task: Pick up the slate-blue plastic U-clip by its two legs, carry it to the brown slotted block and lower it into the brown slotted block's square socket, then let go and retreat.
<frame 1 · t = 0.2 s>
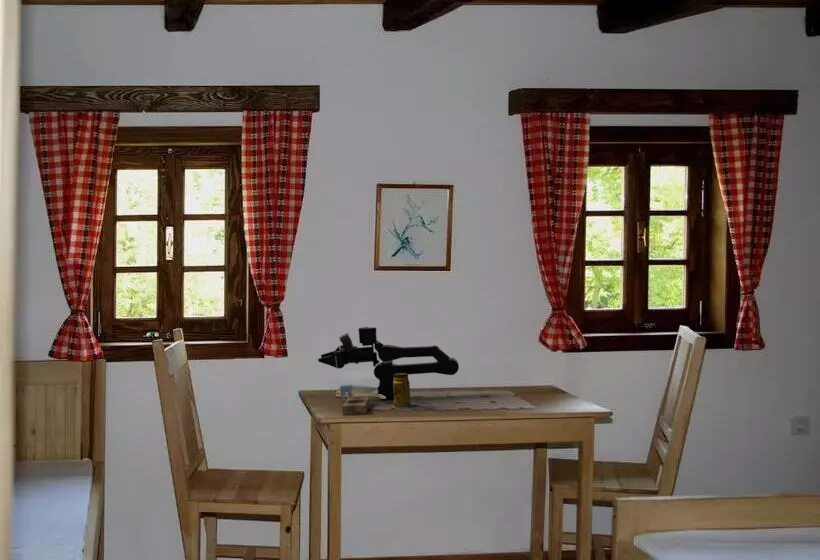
hand: (319, 358, 399), 16 cm above the table, tool horizontal, fingers open, 9 cm apart
condiment: (404, 406, 380), on the table
clip: (347, 403, 392), on the table
brown slotted block: (356, 409, 378), on the table
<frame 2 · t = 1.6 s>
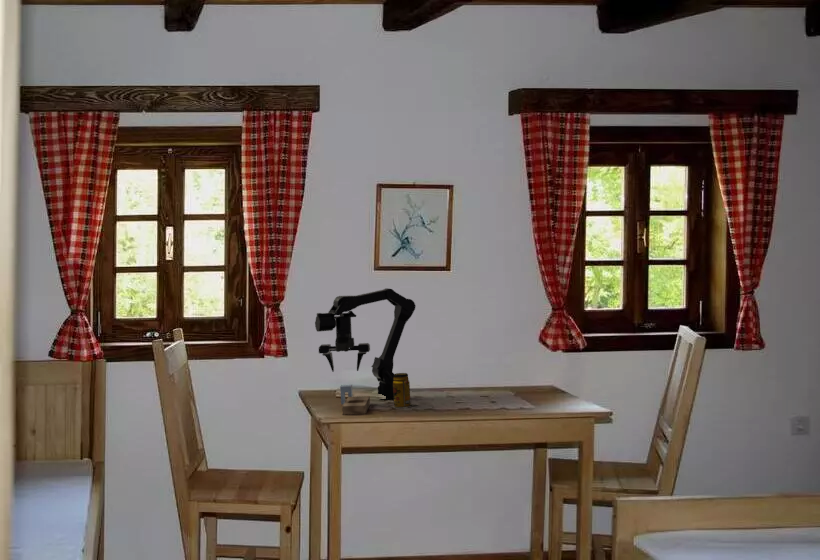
hand: (345, 371, 392), 12 cm above the table, tool pointing down, fingers open, 9 cm apart
nothing on the table moved.
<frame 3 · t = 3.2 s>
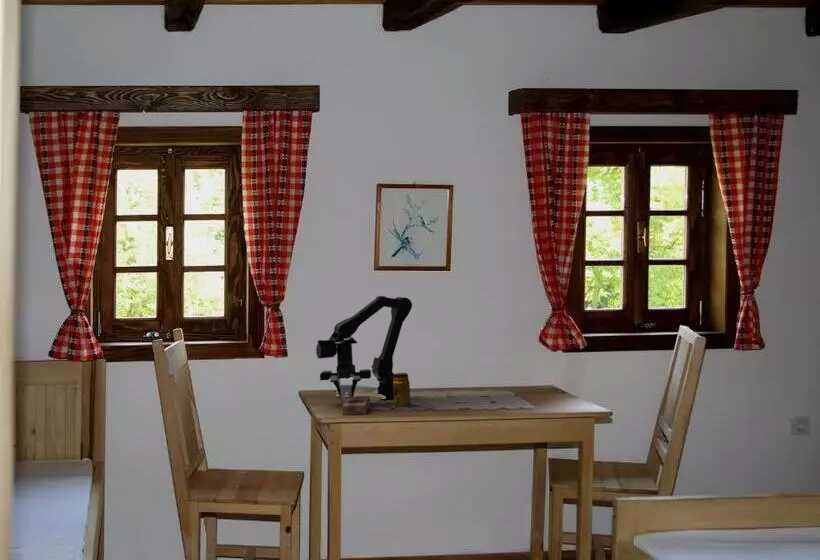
hand: (346, 397, 392), 2 cm above the table, tool pointing down, fingers closed on clip, 4 cm apart
clip: (347, 403, 392), on the table, touching gripper
everything else where it was.
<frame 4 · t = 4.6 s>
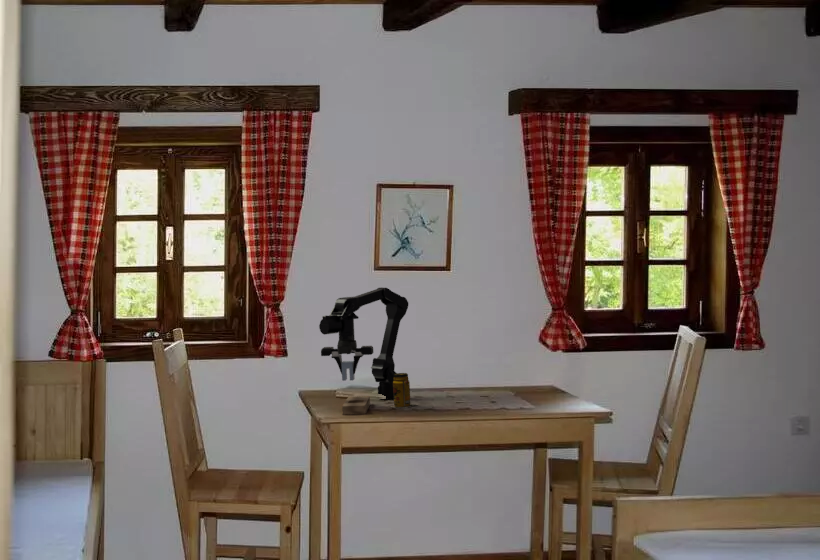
hand: (348, 374, 386), 12 cm above the table, tool pointing down, fingers closed on clip, 4 cm apart
clip: (348, 379, 386), point 10 cm above the table, touching gripper
everything else where it was.
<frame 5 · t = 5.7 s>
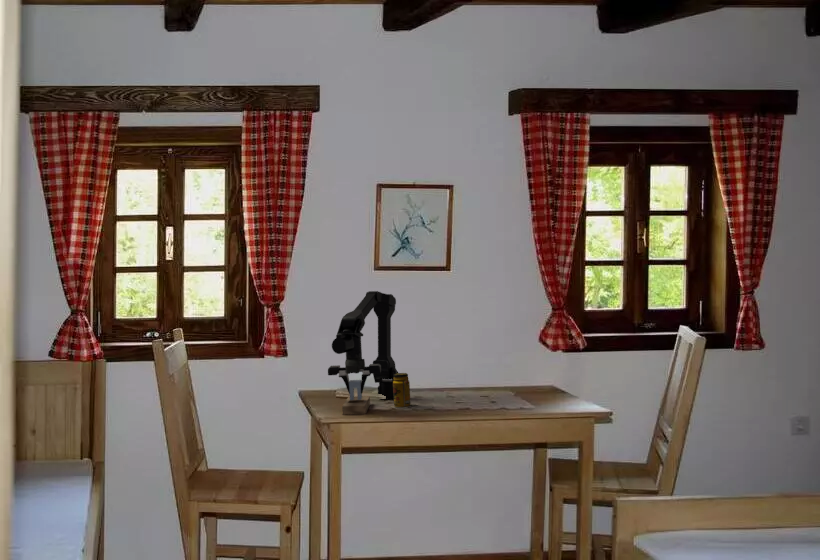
hand: (355, 393, 377), 6 cm above the table, tool pointing down, fingers closed on clip, 4 cm apart
clip: (356, 399, 377), point 4 cm above the table, touching gripper
everything else where it was.
when the fingers open (4 cm above the table, at t = 6.4 s): clip drops 2 cm, resting in brown slotted block.
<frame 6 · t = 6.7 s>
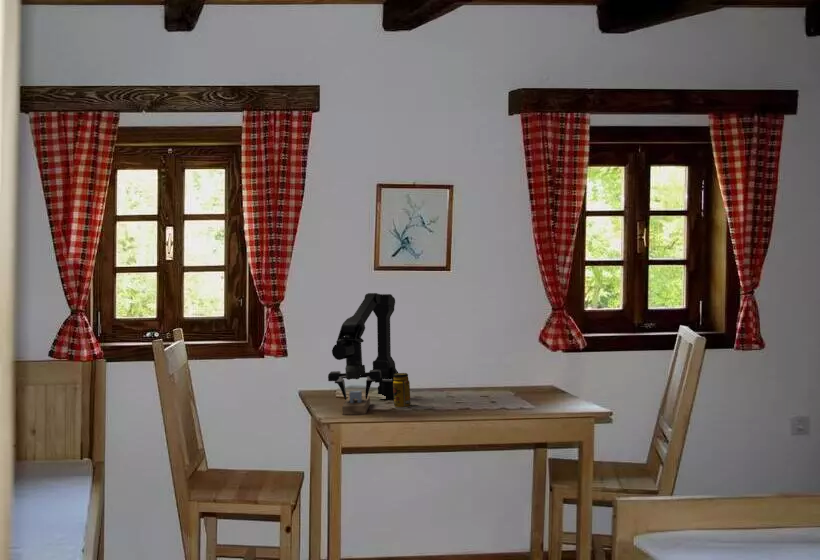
hand: (356, 399, 377), 4 cm above the table, tool pointing down, fingers open, 7 cm apart
clip: (356, 409, 377), resting in brown slotted block
everything else where it was.
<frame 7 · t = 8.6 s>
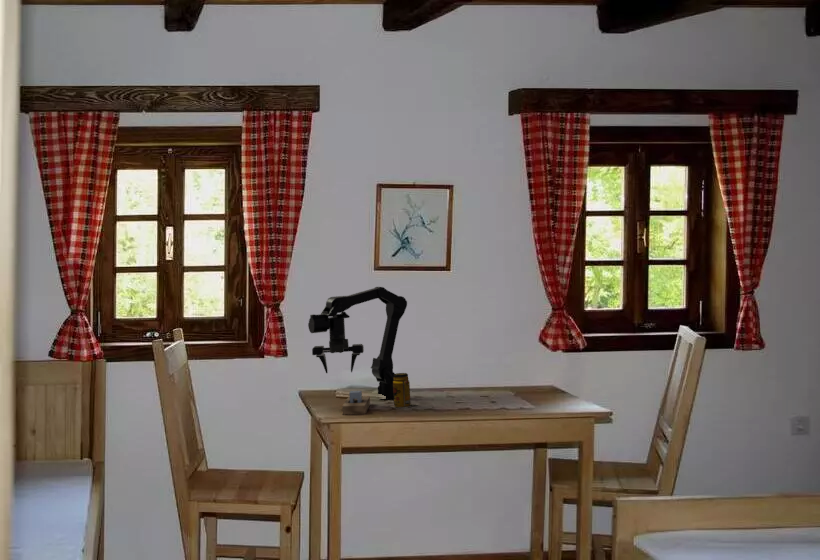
hand: (339, 372, 389), 12 cm above the table, tool pointing down, fingers open, 9 cm apart
nothing on the table moved.
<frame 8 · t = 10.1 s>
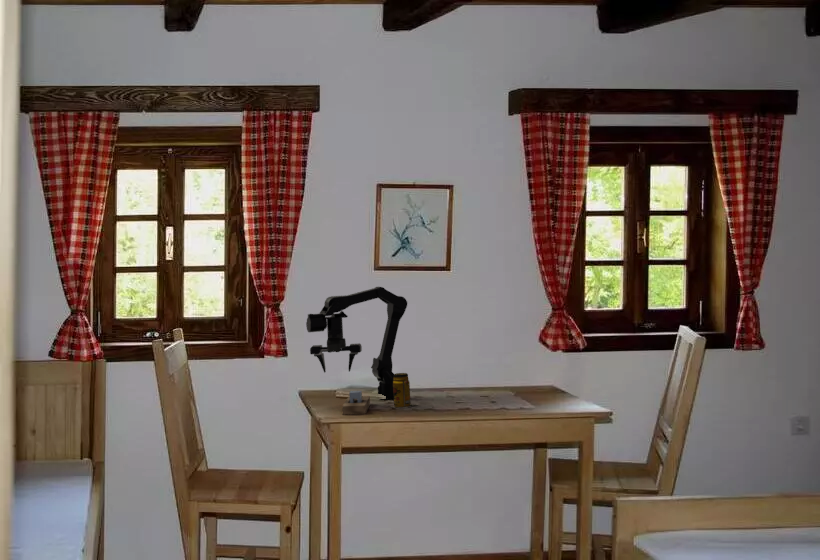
hand: (337, 371, 391), 12 cm above the table, tool pointing down, fingers open, 9 cm apart
nothing on the table moved.
at the end: clip 0.0 cm from the target spot on the brown slotted block, point 0.0 cm above the brown slotted block's base; clip tilted 0°; the gripper is holding nothing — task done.
